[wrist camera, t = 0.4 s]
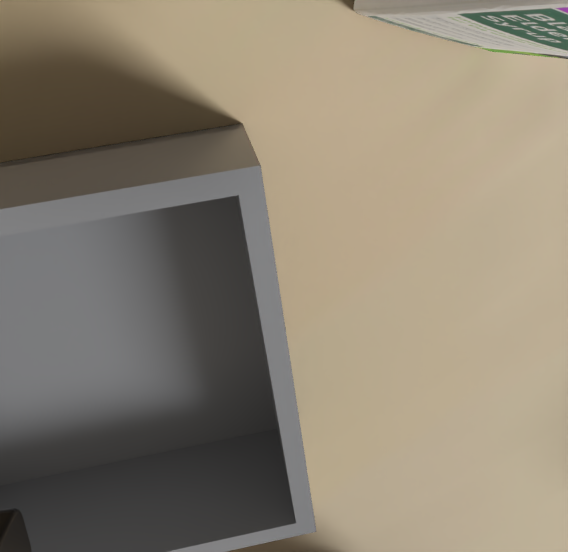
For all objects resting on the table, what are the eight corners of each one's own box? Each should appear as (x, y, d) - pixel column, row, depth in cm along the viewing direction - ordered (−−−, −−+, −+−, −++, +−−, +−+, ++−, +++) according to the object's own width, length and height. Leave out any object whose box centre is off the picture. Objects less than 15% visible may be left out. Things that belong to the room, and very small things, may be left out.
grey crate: (291, 425, 26) (316, 531, 21) (-59, 497, 25) (-128, 629, 20) (242, 123, 20) (260, 165, 14) (-236, 201, 18) (-411, 278, 13)
